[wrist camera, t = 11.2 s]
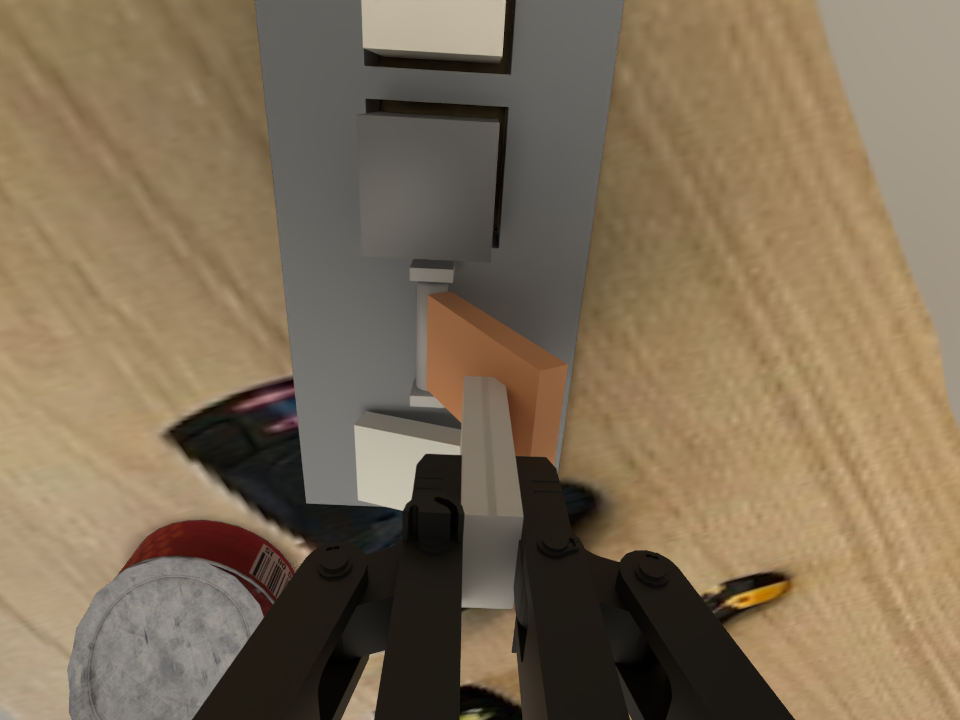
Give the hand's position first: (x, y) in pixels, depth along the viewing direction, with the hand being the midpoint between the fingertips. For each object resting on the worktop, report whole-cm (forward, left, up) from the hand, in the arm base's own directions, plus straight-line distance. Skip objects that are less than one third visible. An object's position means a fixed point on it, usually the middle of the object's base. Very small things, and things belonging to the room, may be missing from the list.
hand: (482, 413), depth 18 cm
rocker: (+5, -2, -5) cm, 7 cm away
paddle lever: (-1, -2, -5) cm, 5 cm away
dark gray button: (-7, -2, -6) cm, 9 cm away
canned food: (+18, -15, -9) cm, 25 cm away
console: (-4, -2, -9) cm, 10 cm away
